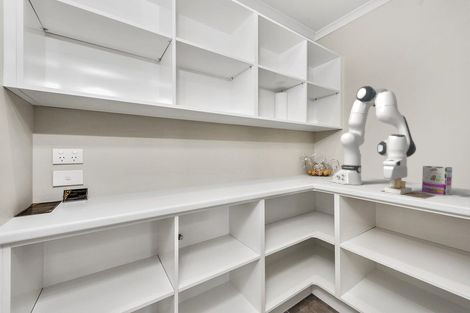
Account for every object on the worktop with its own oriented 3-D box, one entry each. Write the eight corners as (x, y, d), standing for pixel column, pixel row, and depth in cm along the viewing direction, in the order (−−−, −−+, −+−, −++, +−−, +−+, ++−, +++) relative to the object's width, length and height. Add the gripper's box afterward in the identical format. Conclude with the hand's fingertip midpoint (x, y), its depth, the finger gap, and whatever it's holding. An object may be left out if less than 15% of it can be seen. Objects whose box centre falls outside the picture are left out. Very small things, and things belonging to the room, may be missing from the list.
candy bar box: (451, 196, 106) (453, 167, 106) (445, 197, 105) (446, 167, 105) (427, 192, 117) (428, 165, 117) (421, 192, 116) (422, 165, 116)
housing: (384, 191, 112) (384, 181, 112) (396, 189, 119) (396, 179, 119) (400, 194, 106) (400, 183, 106) (411, 192, 112) (411, 181, 112)
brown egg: (398, 190, 108) (398, 179, 108) (389, 189, 112) (390, 178, 111) (401, 189, 110) (401, 179, 110) (393, 188, 114) (393, 178, 113)
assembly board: (379, 192, 114) (379, 191, 114) (392, 190, 121) (392, 188, 121) (424, 200, 97) (424, 198, 96) (436, 197, 104) (436, 195, 104)
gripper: (398, 161, 118) (397, 183, 118) (381, 162, 108) (380, 186, 109) (411, 162, 112) (410, 185, 113) (394, 162, 103) (393, 188, 103)
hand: (395, 185), depth 111 cm, fingers closed on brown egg, 4 cm apart
